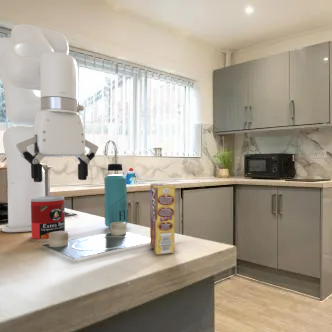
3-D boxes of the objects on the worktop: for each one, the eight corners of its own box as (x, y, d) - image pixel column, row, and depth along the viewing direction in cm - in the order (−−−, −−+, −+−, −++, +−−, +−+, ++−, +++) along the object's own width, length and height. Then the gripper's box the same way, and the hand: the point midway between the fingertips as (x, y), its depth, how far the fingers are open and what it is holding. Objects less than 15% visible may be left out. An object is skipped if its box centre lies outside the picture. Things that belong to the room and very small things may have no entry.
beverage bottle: (119, 232, 95) (118, 163, 94) (99, 231, 96) (98, 163, 96) (132, 227, 101) (131, 163, 101) (113, 227, 102) (112, 163, 102)
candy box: (176, 253, 72) (175, 184, 72) (156, 255, 71) (155, 185, 70) (167, 244, 80) (167, 182, 80) (149, 246, 79) (149, 183, 78)
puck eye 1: (46, 245, 77) (46, 232, 77) (64, 242, 80) (64, 230, 80) (52, 248, 74) (52, 235, 74) (71, 244, 78) (71, 232, 78)
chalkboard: (41, 248, 78) (41, 244, 78) (120, 233, 93) (120, 230, 93) (74, 262, 66) (74, 258, 66) (158, 243, 82) (158, 239, 82)
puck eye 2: (107, 234, 89) (107, 223, 89) (121, 231, 92) (121, 221, 92) (115, 236, 86) (115, 224, 86) (129, 233, 89) (129, 222, 89)
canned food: (40, 243, 82) (40, 199, 82) (25, 239, 87) (24, 198, 86) (71, 237, 89) (70, 196, 89) (55, 234, 93) (54, 195, 93)
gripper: (89, 113, 85) (90, 179, 86) (10, 105, 72) (12, 182, 72) (103, 110, 81) (105, 179, 81) (21, 100, 67) (23, 183, 67)
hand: (61, 180), depth 77 cm, fingers open, 9 cm apart
